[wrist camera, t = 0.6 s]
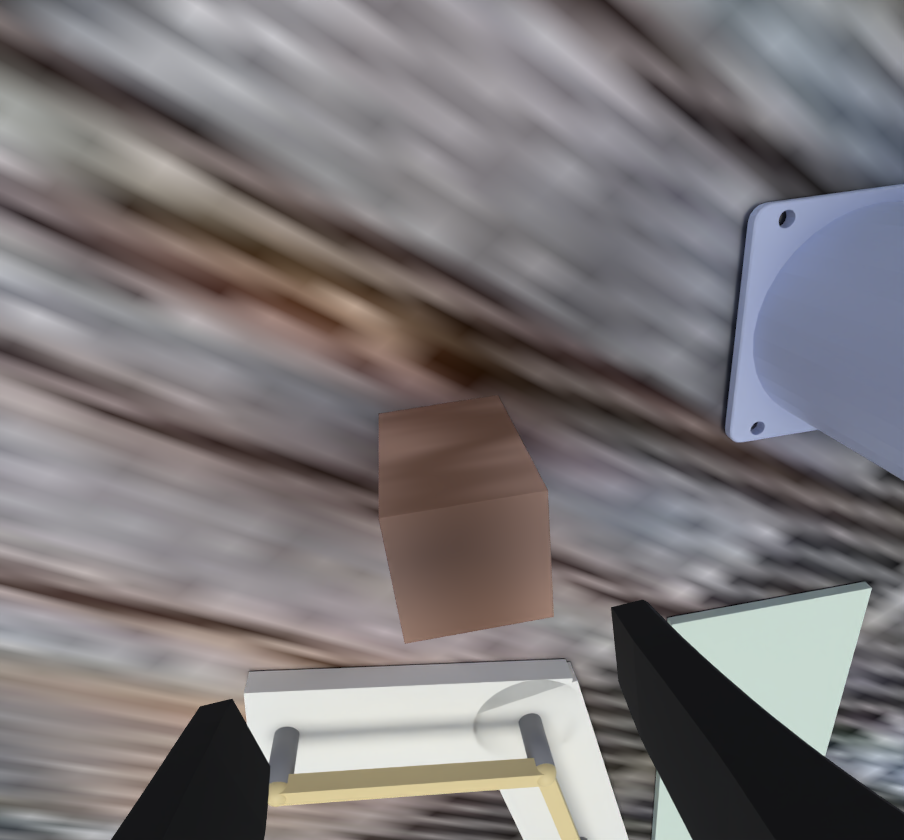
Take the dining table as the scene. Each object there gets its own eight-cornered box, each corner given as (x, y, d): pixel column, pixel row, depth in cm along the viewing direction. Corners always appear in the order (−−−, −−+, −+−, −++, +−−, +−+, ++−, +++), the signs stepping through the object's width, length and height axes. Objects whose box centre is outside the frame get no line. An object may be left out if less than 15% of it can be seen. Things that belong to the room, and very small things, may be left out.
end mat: (864, 581, 24) (872, 587, 24) (797, 830, 32) (802, 838, 32) (667, 617, 24) (672, 624, 23) (649, 861, 32) (652, 869, 31)
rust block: (497, 395, 18) (547, 490, 13) (506, 495, 20) (553, 616, 15) (378, 413, 18) (378, 518, 13) (397, 513, 20) (405, 643, 14)
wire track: (628, 603, 23) (671, 677, 20) (621, 832, 30) (651, 915, 27) (224, 675, 22) (196, 767, 19) (316, 895, 29) (308, 990, 26)
